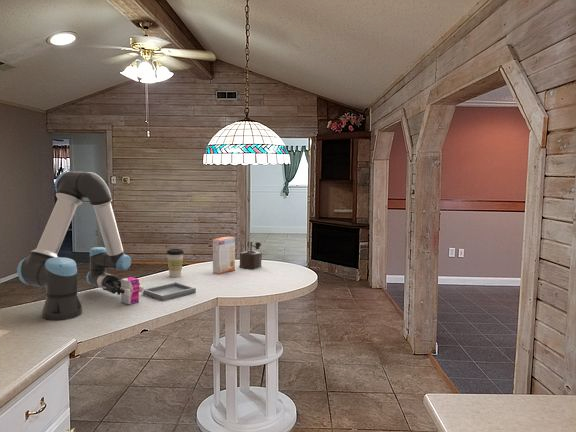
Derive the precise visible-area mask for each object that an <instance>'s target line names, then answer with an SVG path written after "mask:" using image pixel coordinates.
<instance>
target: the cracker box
mask: <svg viewBox="0 0 576 432" xmlns="http://www.w3.org/2000/svg"><path fill="white" fill-rule="evenodd" d="M235 270H236V237H235V236H230V235H229V236H223V237H218V238H213V239H212V274H216V275H221V274H225V273H229V272H233V271H235Z"/></svg>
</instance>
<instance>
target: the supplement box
mask: <svg viewBox="0 0 576 432" xmlns="http://www.w3.org/2000/svg"><path fill="white" fill-rule="evenodd" d="M120 280H121V287H123V288H126V289H129V290H130V296H127V295H124V294H122V293H120V304H121V305H125V306H131V305H135V304H139V299H140V294H139V293H140V292H139V283H140V278H136V277H132V276H130V277H124V278H121V279H120Z"/></svg>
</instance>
